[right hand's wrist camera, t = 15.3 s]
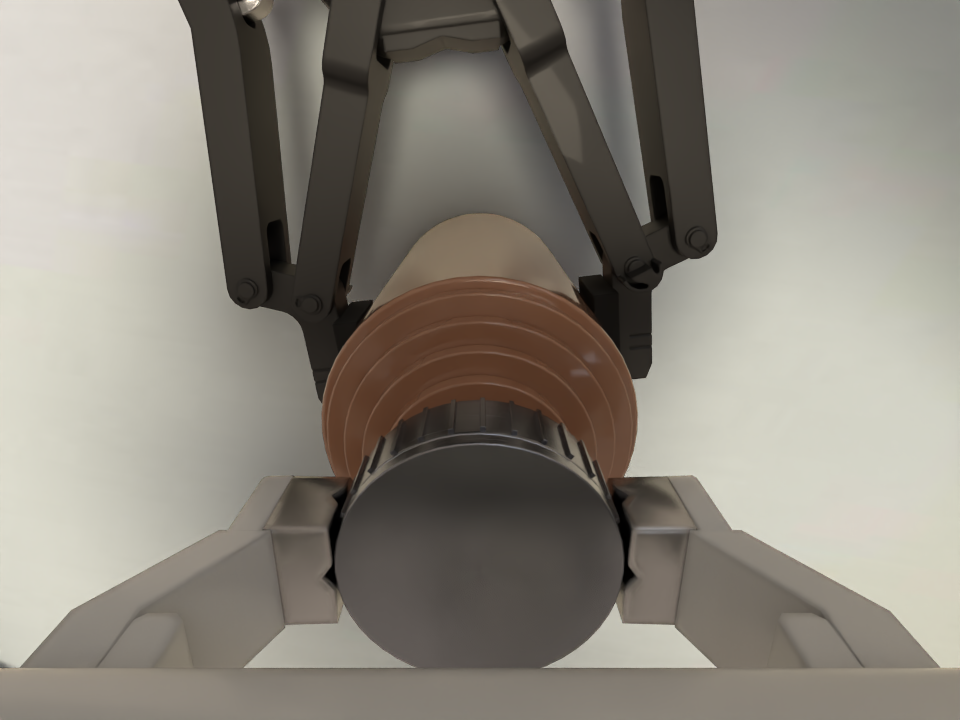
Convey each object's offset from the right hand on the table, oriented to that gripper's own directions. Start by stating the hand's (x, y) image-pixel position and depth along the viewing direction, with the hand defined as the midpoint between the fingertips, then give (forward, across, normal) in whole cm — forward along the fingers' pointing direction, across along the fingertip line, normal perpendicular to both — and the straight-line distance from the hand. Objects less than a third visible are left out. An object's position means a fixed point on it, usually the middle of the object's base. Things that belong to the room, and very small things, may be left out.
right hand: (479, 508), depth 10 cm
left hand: (+9, +1, -5) cm, 10 cm away
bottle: (+15, 0, 0) cm, 15 cm away
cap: (-1, 0, 0) cm, 1 cm away
